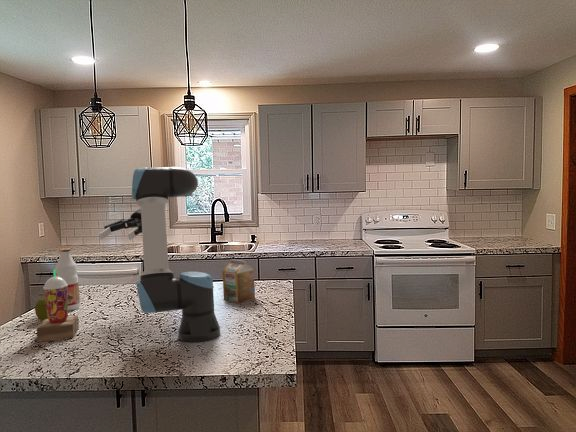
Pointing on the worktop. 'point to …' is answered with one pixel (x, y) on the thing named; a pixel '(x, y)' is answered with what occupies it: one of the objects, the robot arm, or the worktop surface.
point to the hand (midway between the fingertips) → (114, 236)
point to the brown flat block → (57, 329)
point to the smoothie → (56, 299)
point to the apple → (41, 309)
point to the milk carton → (238, 282)
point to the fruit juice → (69, 277)
